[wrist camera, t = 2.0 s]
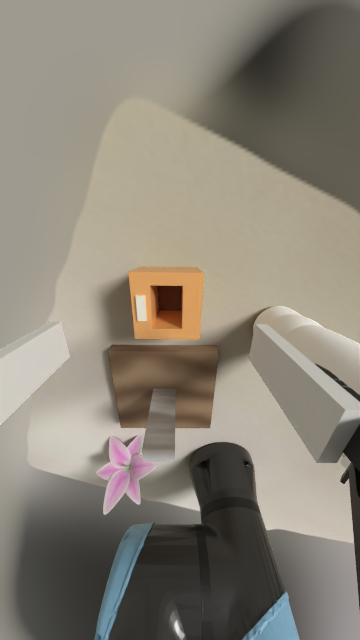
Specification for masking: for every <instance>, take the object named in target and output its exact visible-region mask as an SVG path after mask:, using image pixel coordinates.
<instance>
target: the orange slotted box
mask: <svg viewBox="0 0 360 640" xmlns="http://www.w3.org/2000/svg"><path fill="white" fill-rule="evenodd" d="M128 273H129V283H130V293H131V303H132V314H133V324H134V334H135V339H200V328H201V312H202V297H203V282H204V272H202V271H201V270H200V269H199V268H197V267H140V268H137V269H135V270H132V271H129V272H128ZM158 286H182V301H181V310H159V304H158Z"/></svg>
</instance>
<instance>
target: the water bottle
mask: <svg viewBox="0 0 360 640" xmlns="http://www.w3.org/2000/svg"><path fill="white" fill-rule="evenodd" d="M255 324H267V325H268V326H270V327H271V328H272V329H273V330H274V331H276V332H277V333H278V334H279V335H280V336H282V337H283V338H284V339H285V340H286V341H288V342H289V343H290V344H291V345H292V346H294V347H295V348H296V349H297V350H298V351H299V352H301V353H302V354H303V355H304V356H305V357H307V358H308V359H309V360H310V361H311V362H313V363H314V364H318V365H320V366H322V367H323V368H325V369H327V370H329V371H330V372H331V373H333V374H334V375H335V376H336V377H338V378H339V380H341V381H343V382H344V383H345V384H346V385H348V387H350V388H351V389H353V390H354V391H355V392H356V393H358V394H359V395H360V344H359V343H357V342H355V341H353V340H351V339H349V338H346V337H344V336H342V335H340V334H338V333H336V332H333V331H331V330H328V329H326V328H323V327H322V326H321V325H320V324H318V323H317V322H315V321H313V320H311V319H309V318H307V317H304V316H301V315H300V314H299V313H297V312H295V311H294V310H292V309H290V308H287V307H284V306H275V307H271V308H268V309H266V310H265V311H263V312H262V313H261V314H260V315H259V316H258V317H257V318H256V320H255V322H254V325H253V334H254V329H255Z"/></svg>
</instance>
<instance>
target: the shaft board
mask: <svg viewBox="0 0 360 640" xmlns="http://www.w3.org/2000/svg"><path fill="white" fill-rule="evenodd" d="M108 355H109V361H110V367H111V372H112V378H113V384H114V390H115V396H116V402H117V408H118V413H119V419H120V425H121V428H146V432H145V437H144V443H143V448H142V452H143V461H174V457H175V428H210V424H211V415H212V407H213V398H214V390H215V381H216V373H217V364H218V355H219V351H218V349H217V346H181V345H112V346H111V348H110V349H109V350H108Z"/></svg>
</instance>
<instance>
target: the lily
mask: <svg viewBox="0 0 360 640" xmlns="http://www.w3.org/2000/svg"><path fill="white" fill-rule="evenodd" d="M140 443H141V435H138V436H137V437H136V438H135V439H134V440H133V441H132V442H131V443H130V444H129V446H128V447H126V446H125V445H124V444H123V443H121V442H120V441H119V440H118V439H117V438H115V437H114V436H111V437H110V440H109V459H110V462H109V463H107V464H106V465H104V466H103V467H101V468H100V469H99V470H98V471H97V472H96V474H97V475H98V476H99V477H101V478H103V479H105V480H108V481H109V482H108V485H107V488H106V493H105V498H104V505H103V514H104V515H106V514H107V513H109V511H111V509H112V508H113V507H114V506H115V505H116V503H117V502H118V501H119V500H120V499H121V498H122V496H123V495H124V493H125V492H126V494H127V495H128V496H129V497H130V498H131V499H132V501H134V502H135V503H136V504H138V505H140V503H141V497H140V485H139V480H140V479H142V478H143V477H145V476H146V475H148V474H149V473H150V472H151V471H153V470H154V469H155V468H156V467H157V463H156V462H155V461H143V456H142V455H139V451H140Z"/></svg>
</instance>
